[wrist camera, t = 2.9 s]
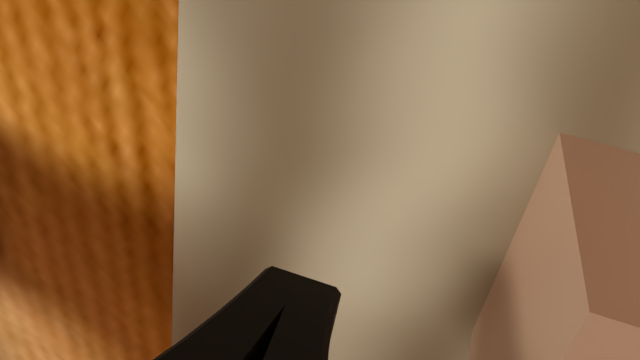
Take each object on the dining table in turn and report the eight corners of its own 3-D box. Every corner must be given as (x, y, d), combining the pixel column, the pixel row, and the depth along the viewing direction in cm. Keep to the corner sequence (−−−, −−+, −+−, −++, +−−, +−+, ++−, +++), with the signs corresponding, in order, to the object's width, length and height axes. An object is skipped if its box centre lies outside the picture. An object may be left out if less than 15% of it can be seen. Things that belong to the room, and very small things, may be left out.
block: (471, 332, 15) (453, 545, 10) (559, 132, 12) (589, 311, 7) (538, 354, 14) (550, 583, 10) (647, 156, 11) (739, 359, 7)
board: (185, 328, 20) (171, 349, 19) (208, -227, 11) (184, -233, 10) (696, 512, 17) (706, 547, 16) (1249, -40, 8) (1329, -28, 8)
